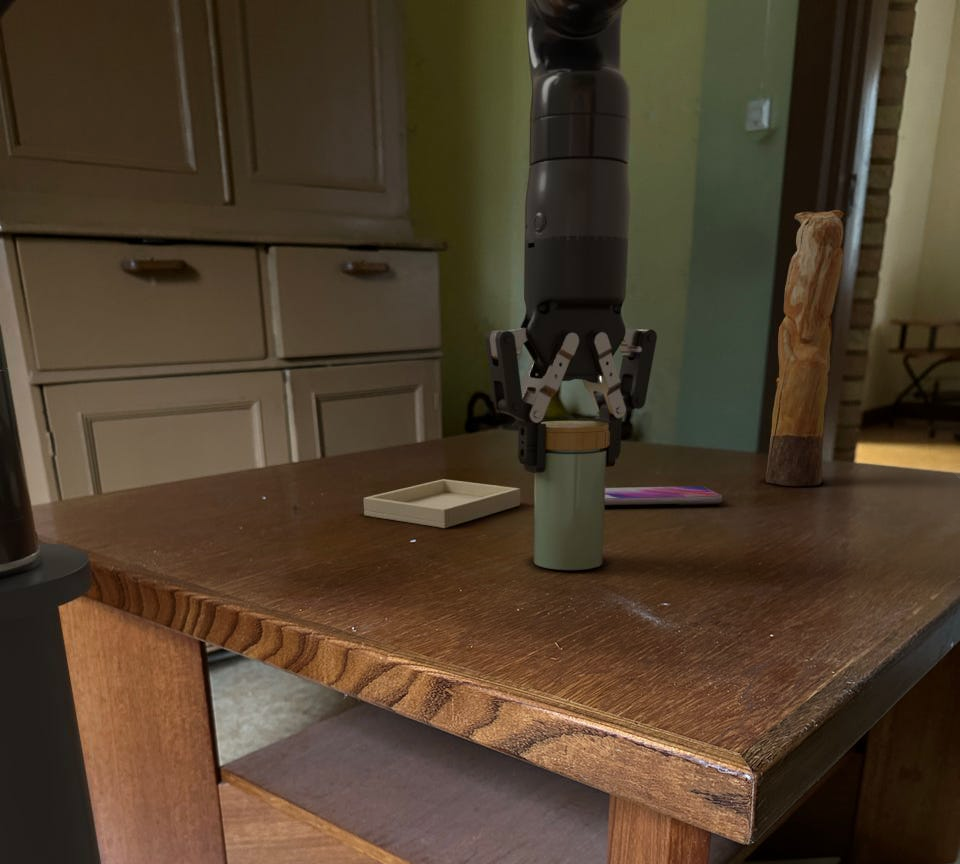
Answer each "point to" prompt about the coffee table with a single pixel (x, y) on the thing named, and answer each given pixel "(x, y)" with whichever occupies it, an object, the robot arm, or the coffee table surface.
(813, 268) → the sculpture
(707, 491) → the smartphone
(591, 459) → the jar
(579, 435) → the jar lid
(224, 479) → the coffee table surface
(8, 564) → the robot arm
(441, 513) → the tray
